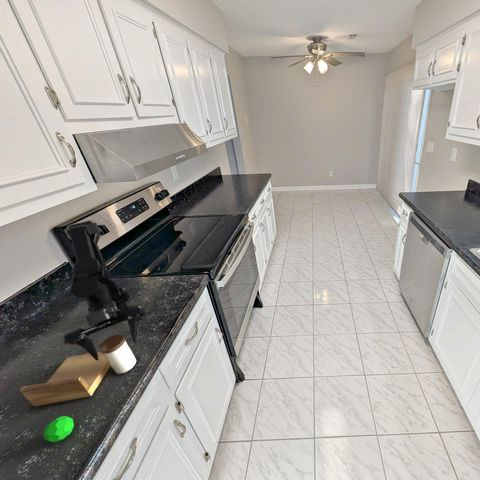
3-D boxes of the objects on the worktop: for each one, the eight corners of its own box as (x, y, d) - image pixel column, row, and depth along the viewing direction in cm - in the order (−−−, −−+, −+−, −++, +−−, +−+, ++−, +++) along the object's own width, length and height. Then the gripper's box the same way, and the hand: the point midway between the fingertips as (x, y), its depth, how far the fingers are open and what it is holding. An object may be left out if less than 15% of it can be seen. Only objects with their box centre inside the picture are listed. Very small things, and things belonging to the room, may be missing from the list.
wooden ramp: (71, 361, 80) (59, 345, 77) (118, 353, 82) (108, 337, 78) (34, 406, 68) (17, 390, 64) (91, 396, 69) (77, 379, 66)
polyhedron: (62, 424, 63) (51, 413, 61) (82, 421, 63) (73, 410, 61) (44, 448, 59) (32, 437, 57) (67, 445, 59) (56, 434, 57)
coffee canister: (110, 368, 77) (95, 345, 72) (131, 354, 81) (118, 331, 76) (119, 377, 74) (104, 354, 69) (140, 362, 78) (127, 339, 74)
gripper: (45, 313, 66) (62, 371, 63) (129, 284, 75) (148, 332, 73) (64, 319, 75) (80, 369, 72) (137, 292, 85) (154, 335, 82)
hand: (116, 351), depth 75 cm, fingers open, 9 cm apart
